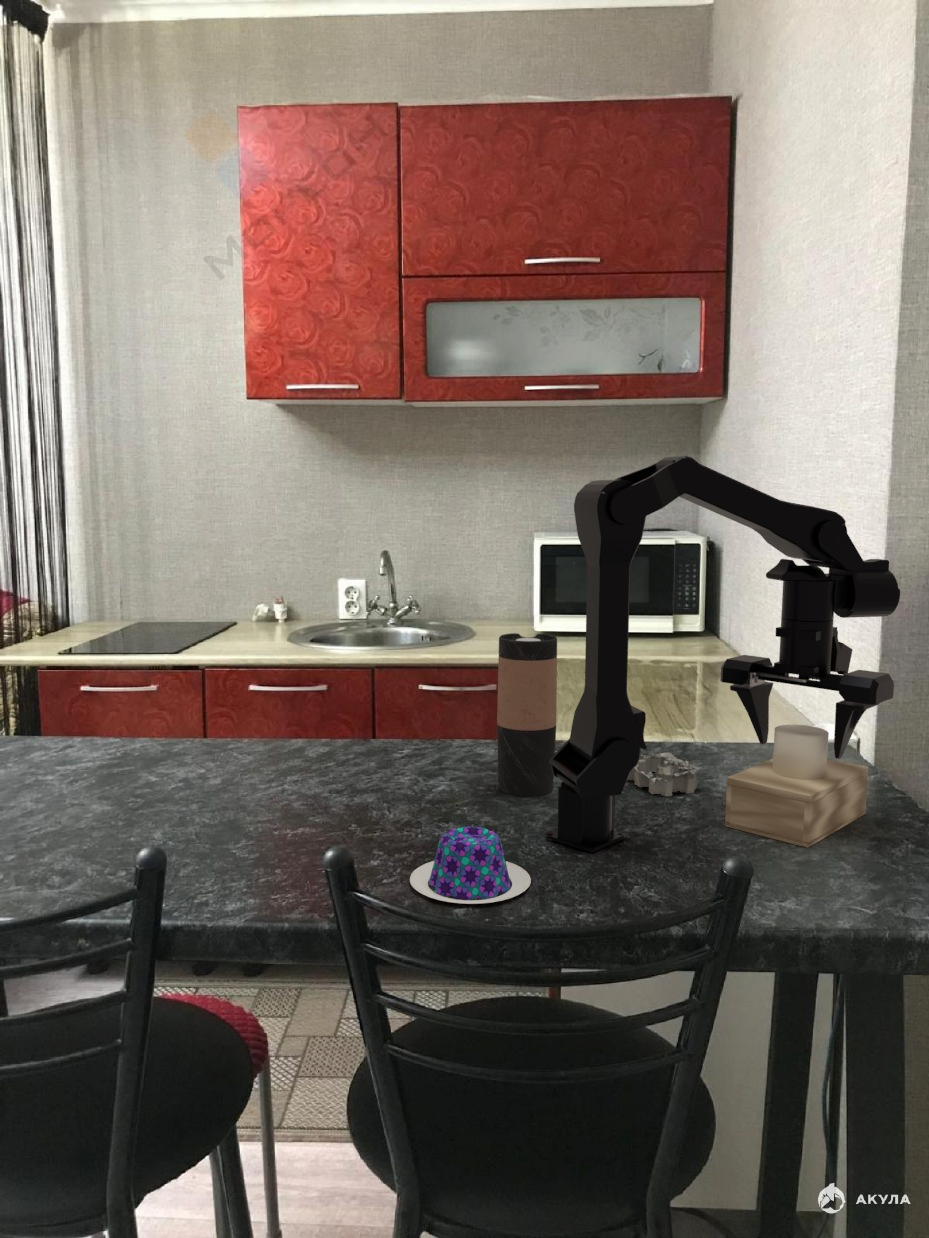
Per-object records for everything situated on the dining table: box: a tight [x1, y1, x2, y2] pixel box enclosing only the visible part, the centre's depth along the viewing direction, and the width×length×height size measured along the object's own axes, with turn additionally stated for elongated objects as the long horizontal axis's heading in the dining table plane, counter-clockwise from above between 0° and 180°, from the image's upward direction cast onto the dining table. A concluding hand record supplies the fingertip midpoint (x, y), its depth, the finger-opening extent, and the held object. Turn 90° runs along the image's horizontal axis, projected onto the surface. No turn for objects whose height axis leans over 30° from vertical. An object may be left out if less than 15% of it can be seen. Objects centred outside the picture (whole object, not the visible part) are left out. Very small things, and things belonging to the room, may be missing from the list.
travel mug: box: [496, 632, 558, 797], centre depth 128 cm, size 8×8×20 cm
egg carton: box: [627, 752, 702, 797], centre depth 132 cm, size 11×8×4 cm
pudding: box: [409, 826, 532, 905], centre depth 98 cm, size 12×12×5 cm
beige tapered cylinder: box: [772, 724, 830, 780], centre depth 116 cm, size 6×6×5 cm
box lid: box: [726, 758, 869, 803], centre depth 117 cm, size 16×10×1 cm, turn 137°
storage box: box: [724, 773, 869, 849], centre depth 117 cm, size 16×10×5 cm, turn 137°
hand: (800, 750), depth 116 cm, fingers open, 9 cm apart
